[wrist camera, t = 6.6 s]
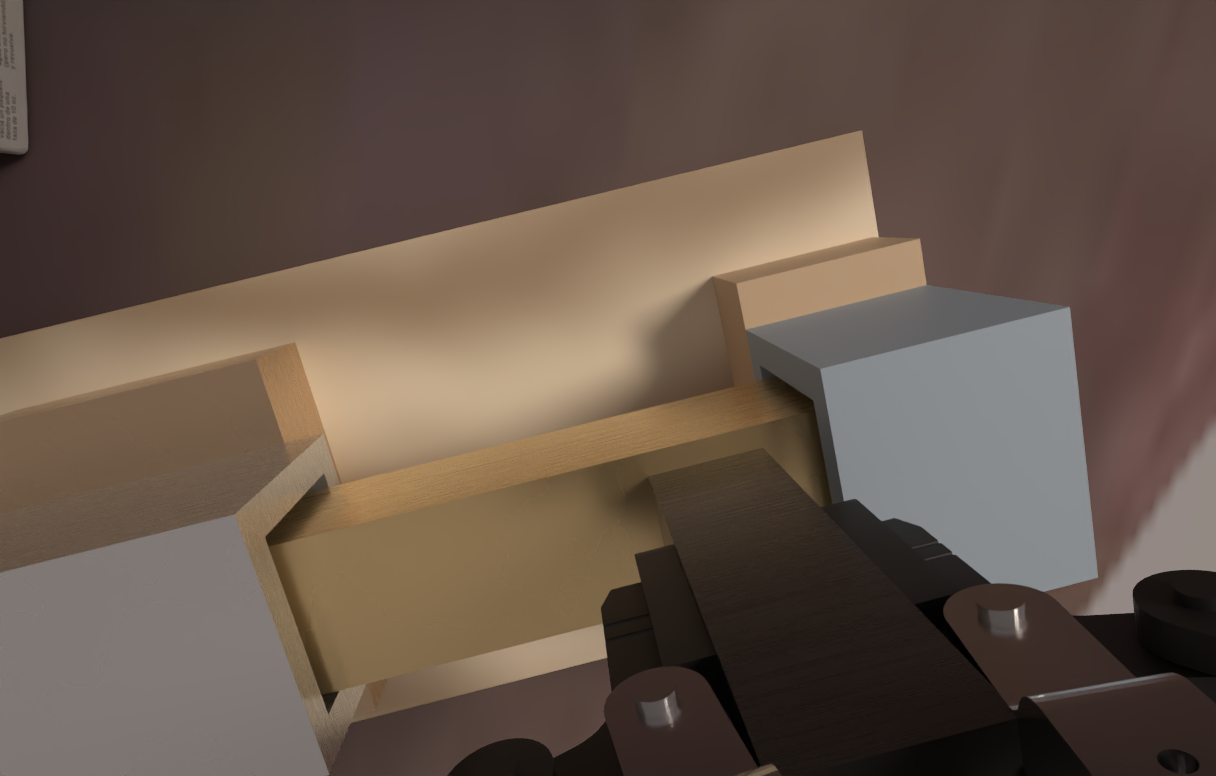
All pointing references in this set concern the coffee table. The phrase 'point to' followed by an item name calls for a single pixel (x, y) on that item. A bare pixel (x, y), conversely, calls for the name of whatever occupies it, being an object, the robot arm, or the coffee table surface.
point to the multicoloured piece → (604, 560)
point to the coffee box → (12, 79)
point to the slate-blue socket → (928, 401)
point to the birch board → (488, 333)
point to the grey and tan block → (162, 579)
